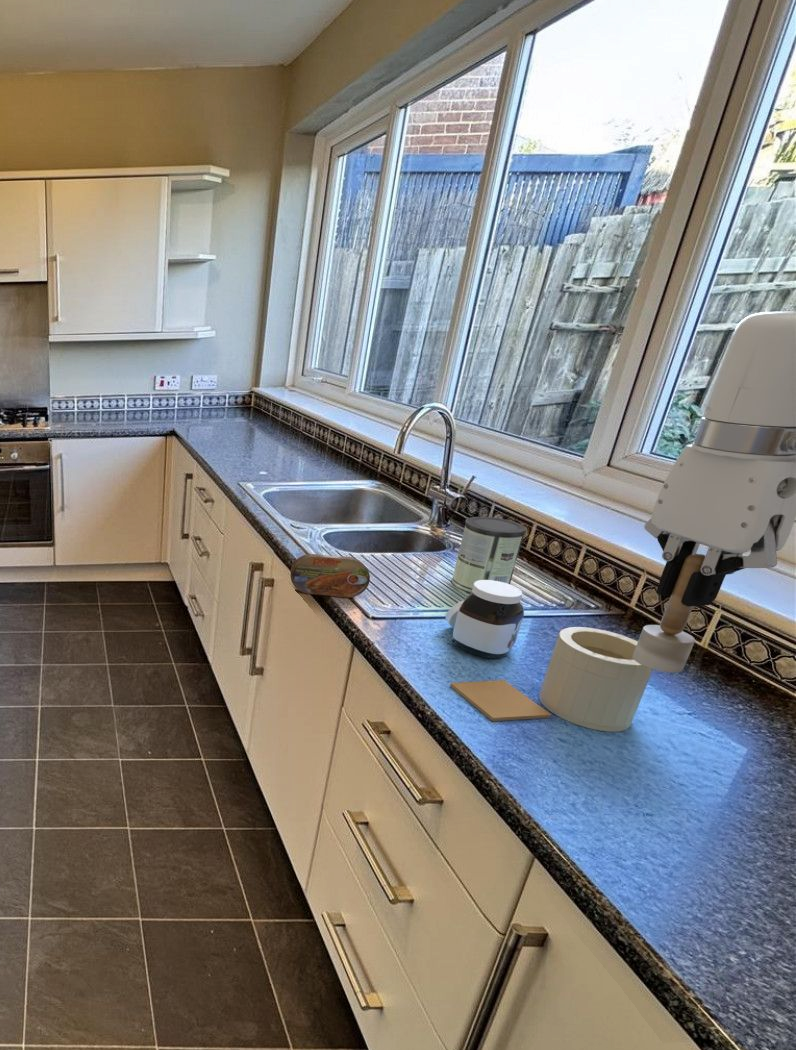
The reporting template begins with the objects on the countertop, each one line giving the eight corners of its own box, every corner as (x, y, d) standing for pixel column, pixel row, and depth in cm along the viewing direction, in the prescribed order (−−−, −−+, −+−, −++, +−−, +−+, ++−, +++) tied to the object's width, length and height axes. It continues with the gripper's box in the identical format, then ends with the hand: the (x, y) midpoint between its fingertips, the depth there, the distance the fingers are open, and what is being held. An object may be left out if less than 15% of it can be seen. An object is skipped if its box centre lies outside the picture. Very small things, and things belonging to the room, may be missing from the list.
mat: (503, 682, 98) (504, 679, 98) (550, 717, 90) (551, 714, 90) (449, 686, 98) (450, 682, 97) (492, 721, 89) (493, 718, 89)
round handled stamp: (654, 652, 75) (697, 546, 70) (693, 671, 71) (741, 560, 66) (622, 654, 75) (662, 547, 70) (659, 674, 71) (704, 562, 66)
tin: (288, 592, 130) (293, 555, 127) (287, 585, 133) (292, 549, 130) (366, 600, 126) (373, 562, 123) (363, 594, 129) (371, 557, 126)
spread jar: (488, 665, 103) (506, 603, 99) (422, 636, 112) (436, 578, 108) (526, 647, 108) (545, 587, 104) (460, 621, 117) (475, 565, 113)
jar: (584, 686, 97) (606, 625, 93) (651, 729, 87) (679, 662, 83) (521, 690, 96) (540, 628, 92) (581, 734, 86) (606, 666, 82)
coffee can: (466, 572, 138) (482, 513, 133) (517, 589, 130) (536, 526, 125) (440, 582, 134) (455, 521, 128) (492, 600, 125) (510, 535, 120)
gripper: (883, 454, 56) (797, 631, 63) (696, 424, 71) (642, 570, 78) (811, 457, 56) (732, 635, 62) (637, 426, 71) (588, 573, 77)
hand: (683, 598), depth 70 cm, fingers closed on round handled stamp, 2 cm apart
